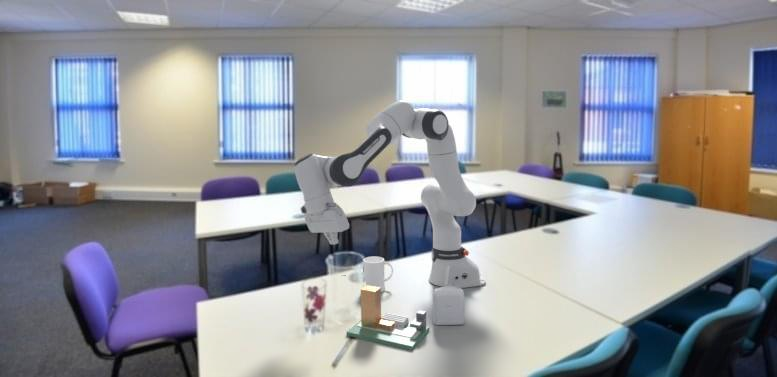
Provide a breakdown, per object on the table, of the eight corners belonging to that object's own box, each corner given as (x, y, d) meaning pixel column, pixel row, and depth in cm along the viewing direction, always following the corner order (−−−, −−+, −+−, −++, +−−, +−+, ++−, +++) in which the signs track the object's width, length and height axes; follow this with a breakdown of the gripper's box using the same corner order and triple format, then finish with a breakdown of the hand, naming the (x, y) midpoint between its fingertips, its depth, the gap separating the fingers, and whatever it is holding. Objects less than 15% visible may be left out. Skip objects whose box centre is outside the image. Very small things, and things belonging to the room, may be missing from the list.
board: (346, 335, 150) (346, 315, 149) (367, 317, 163) (367, 299, 162) (412, 350, 141) (412, 329, 140) (429, 330, 153) (429, 311, 152)
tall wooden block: (361, 325, 153) (360, 289, 151) (367, 320, 157) (366, 285, 155) (389, 331, 149) (389, 294, 147) (395, 326, 153) (395, 290, 151)
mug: (391, 284, 193) (391, 255, 191) (395, 292, 185) (394, 261, 183) (362, 285, 191) (361, 256, 189) (364, 294, 183) (363, 263, 181)
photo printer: (433, 326, 156) (433, 289, 154) (431, 320, 160) (432, 284, 158) (464, 326, 156) (465, 289, 154) (463, 320, 160) (463, 284, 158)
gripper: (345, 198, 150) (359, 239, 152) (313, 202, 166) (326, 239, 168) (329, 205, 146) (344, 248, 148) (297, 209, 162) (311, 247, 164)
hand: (334, 243), depth 158 cm, fingers closed
